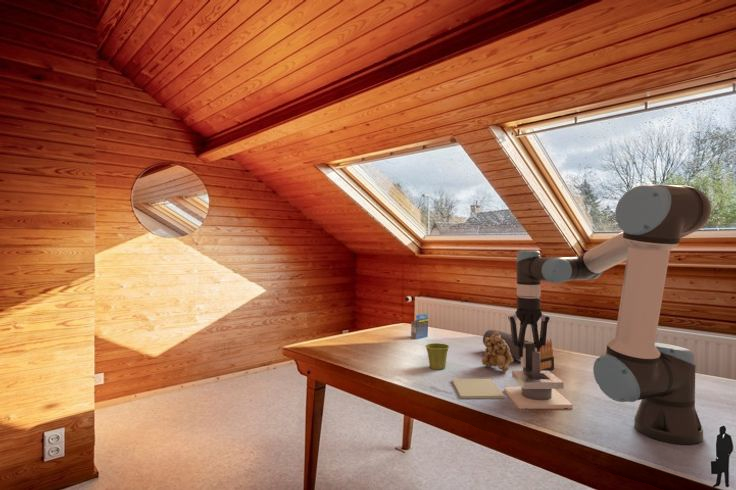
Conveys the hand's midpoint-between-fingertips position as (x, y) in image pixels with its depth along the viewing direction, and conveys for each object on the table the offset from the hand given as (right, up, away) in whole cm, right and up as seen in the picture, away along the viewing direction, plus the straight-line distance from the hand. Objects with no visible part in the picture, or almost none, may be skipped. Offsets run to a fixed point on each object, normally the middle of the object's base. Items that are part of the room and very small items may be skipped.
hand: (528, 366), depth 150 cm
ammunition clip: (+13, -8, +22) cm, 27 cm away
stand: (0, -9, -7) cm, 11 cm away
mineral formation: (-4, -8, +24) cm, 26 cm away
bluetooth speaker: (+6, -8, +43) cm, 44 cm away
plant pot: (-26, -8, +27) cm, 39 cm away
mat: (-17, -8, +2) cm, 19 cm away
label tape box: (-27, -7, +79) cm, 84 cm away
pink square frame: (0, -3, -6) cm, 7 cm away
